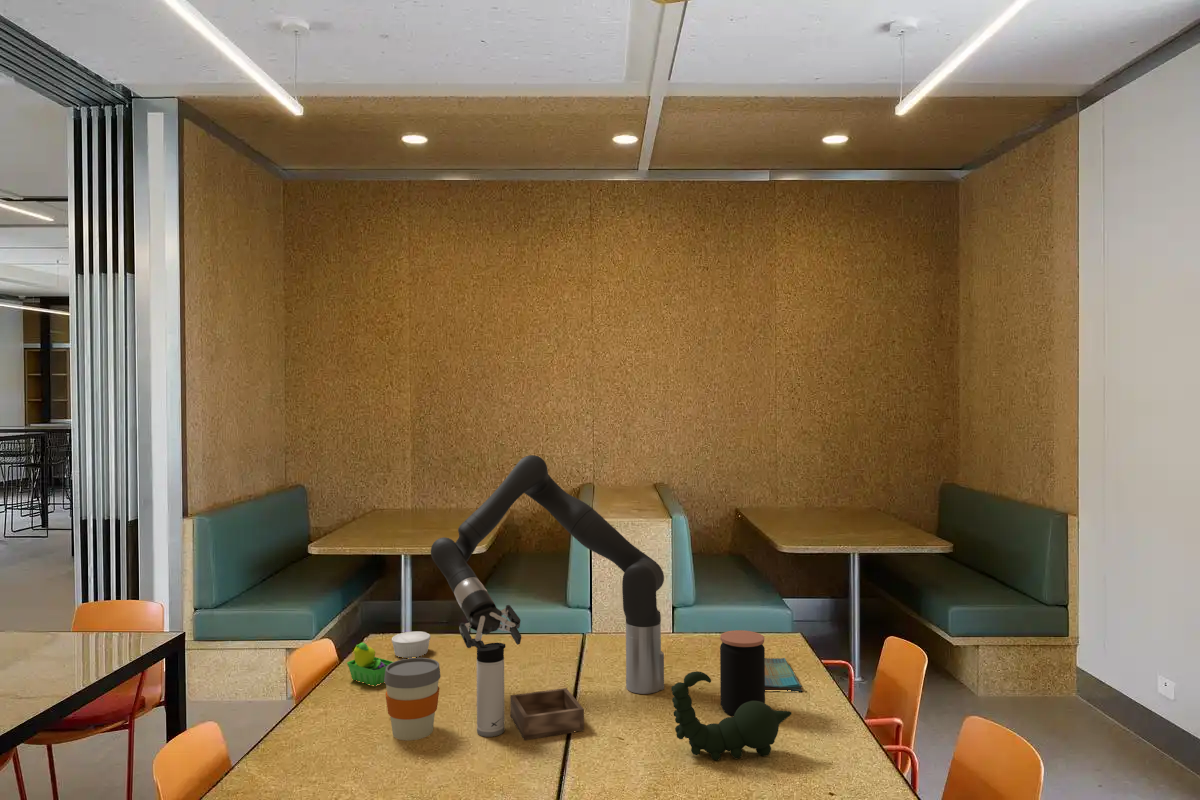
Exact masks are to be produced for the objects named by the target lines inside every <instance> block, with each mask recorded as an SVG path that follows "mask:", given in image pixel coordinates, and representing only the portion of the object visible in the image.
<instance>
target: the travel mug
mask: <svg viewBox="0 0 1200 800" xmlns="http://www.w3.org/2000/svg"><path fill="white" fill-rule="evenodd" d="M484 644H485V645H482V646H480V648H478V649H477V648H476V732H477V734H478V735H479V736H481V737H483V738H484V737H485V738H491V737H492V738H493V736H494V737H497V736H500V735H502V734H504V733H505V648H506V643H502V642H489V643H484Z"/></svg>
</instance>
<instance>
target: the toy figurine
mask: <svg viewBox="0 0 1200 800" xmlns="http://www.w3.org/2000/svg"><path fill="white" fill-rule="evenodd" d="M702 681H705V682H707V683H709V684H710V683H712V679H711V677H710V676H709V675H708V674H706V673H705V672H702V671H697V670H695V671H691V672H689V673H687V674H686V675H685V676H684V678H683V682H676V683H675V684H674V685H672V686H671V688H670V690H671V694H672V696H673V697H672V699H671V700H672V703H673V708H674V709H675V710H674V711H673V712H672V713H673V717H675V718H674V719H675V720H674V721H675V723H677V724H678V725H676V726H675V728H674V729H675V733H676V738H677V739H678V740H683V739H685V738H686V739H688V744H689V745H690V747H691V749H690V752H691V754H692V755H694V756H698V755H700V754H701V750H704V751H705V752H706V753H708V754H710V757H711V759H712V760H713V761H715V760H716V761H719V760H720V759H721V757H722V755H721V754H723V753H725V751H726V752H729V753H730V755H731V756H732V758H733V759H737V760H738V759H740V758H741V757H742V756H743V753H744V752H743V748H744V747H748V748H749V749H754V750H755V751H756V753H757V754H758V755H760V756H761V757H768V756H769V755H770V754H771V750H772V746H771V745H774V743H775V741H776V738H777V736H778V733H779V727H780V725H781V724H782V723H783V722H784V721H785V720H786V719H788V718H789V717H790V716H791V715H792V711H790V710H775V709H773V708H772V707H771V706H770V705H768V704H767V703H766V702H765V703H763V702H760V701H749V702H746V703H744V704H742V705H741V706H740V707H739V708H738V709H737V711H736V712H735V714H734V717H733V716H729V717H725V718H723V719H721V720H720V721H719V722H718V723H714V722H713V723H708V724H705V723H701V722H700V720H699V718H697V715H696V710H695V709H694V708H693V705H692V704H693V703H692V702H693V699H692V697H691V696H690V694H689V692H690V690H689V688H691V687H693V686H694V685H696V684H697V683H698V682H702Z"/></svg>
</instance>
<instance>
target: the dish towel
mask: <svg viewBox="0 0 1200 800" xmlns="http://www.w3.org/2000/svg"><path fill="white" fill-rule="evenodd" d="M802 688H803V685H802V684H801V683H800V682H799V680H798V678H797V675H796V674H795V672H794V671H793V670H792V667H791V666H790V664H789V662H788V661H787V659H786V658H785V657H781V658H776V657H775V658H774V657H773V658H772V657H771V658H769V657H767V658H766V657H765V690H787V691H788V690H791V691H800V692H801V691H803V690H802Z"/></svg>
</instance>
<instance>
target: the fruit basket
mask: <svg viewBox="0 0 1200 800" xmlns="http://www.w3.org/2000/svg"><path fill="white" fill-rule="evenodd" d="M353 653H354V659H353V660H349V661H347V662H346V664H347V667H348V669H349V673H350V676H351V680H352V679H353V680H357V681H360V682H364V683H366V684H370V685H374V686H376V685H377V684H380V683H383V682H384V678H385V669H386V667H387V665H389V664H391V663H393V662H394V661H392V660H388V659H385V658H380V657H375V655H376V650H375V649H374V648H372V647H371V646H368V645H367V643H365V642H360V643H359V644H356V645H355V648H354V649H353ZM353 680H352V681H353ZM366 684H365V685H366ZM383 684H384V683H383ZM370 685H369V686H370ZM376 687H377V686H376Z"/></svg>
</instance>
